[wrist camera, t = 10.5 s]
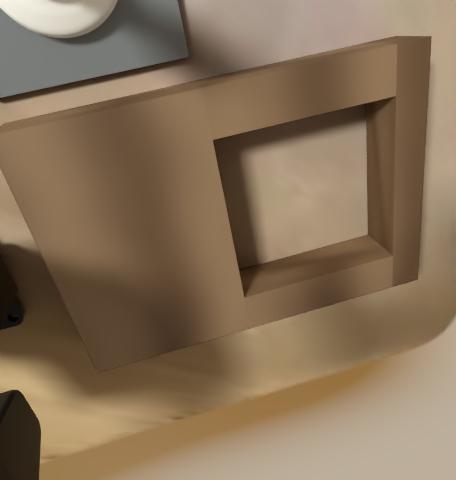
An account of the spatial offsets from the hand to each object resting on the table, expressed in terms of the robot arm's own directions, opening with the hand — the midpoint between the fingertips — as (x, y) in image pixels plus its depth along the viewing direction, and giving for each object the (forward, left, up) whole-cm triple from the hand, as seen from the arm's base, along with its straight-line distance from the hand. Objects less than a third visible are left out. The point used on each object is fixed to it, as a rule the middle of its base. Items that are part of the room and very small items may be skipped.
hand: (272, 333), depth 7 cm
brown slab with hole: (+2, -3, -13) cm, 13 cm away
